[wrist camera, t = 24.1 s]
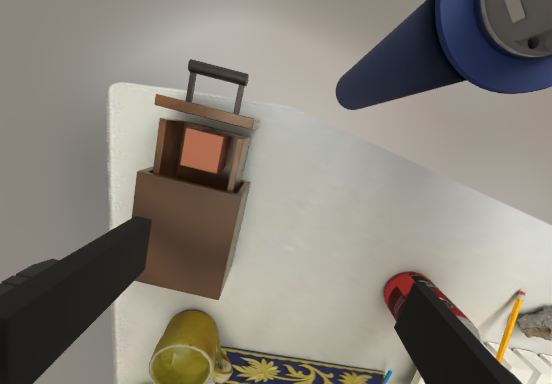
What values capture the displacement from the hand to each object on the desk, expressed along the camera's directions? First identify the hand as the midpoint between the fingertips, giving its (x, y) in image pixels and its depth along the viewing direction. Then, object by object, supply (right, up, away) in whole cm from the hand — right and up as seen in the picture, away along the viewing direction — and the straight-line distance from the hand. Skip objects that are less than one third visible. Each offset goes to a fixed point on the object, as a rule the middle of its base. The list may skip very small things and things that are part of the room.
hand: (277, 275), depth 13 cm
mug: (-13, -21, +33) cm, 41 cm away
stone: (+46, -15, +27) cm, 55 cm away
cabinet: (-12, 0, +28) cm, 30 cm away
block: (-9, +10, +23) cm, 27 cm away
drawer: (-9, +11, +24) cm, 28 cm away
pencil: (+36, -18, +27) cm, 49 cm away
